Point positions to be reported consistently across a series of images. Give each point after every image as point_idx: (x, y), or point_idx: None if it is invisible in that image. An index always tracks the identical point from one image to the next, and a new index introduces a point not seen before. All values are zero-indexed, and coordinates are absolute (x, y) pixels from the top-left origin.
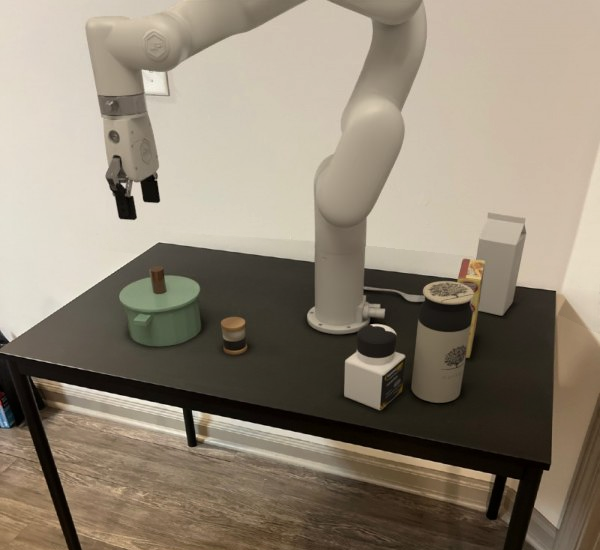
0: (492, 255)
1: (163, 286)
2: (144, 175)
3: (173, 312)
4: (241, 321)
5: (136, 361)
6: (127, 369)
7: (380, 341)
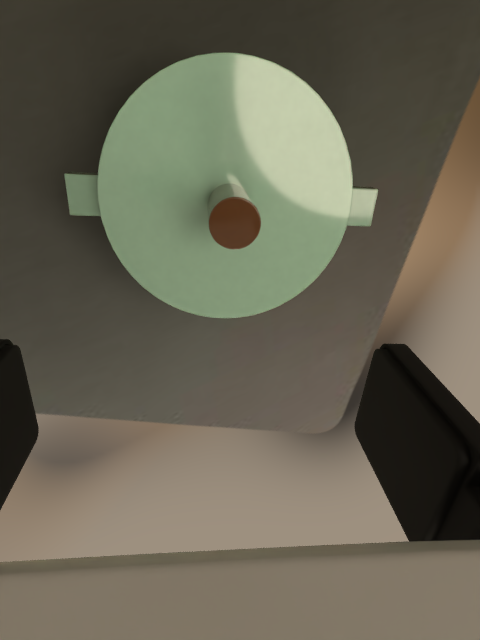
0: None
1: (241, 189)
2: (438, 602)
3: None
4: None
5: None
6: (405, 205)
7: None
